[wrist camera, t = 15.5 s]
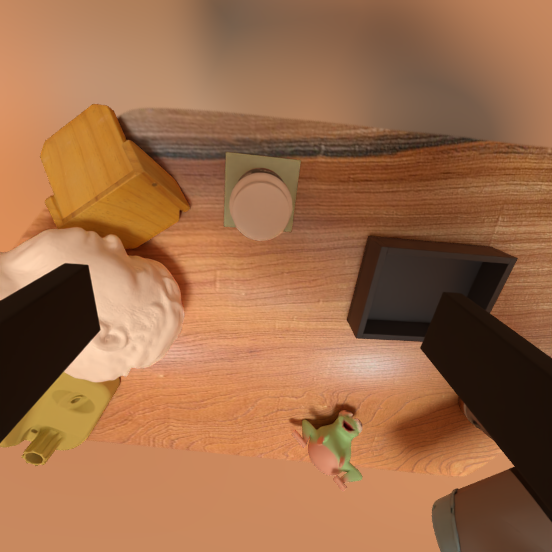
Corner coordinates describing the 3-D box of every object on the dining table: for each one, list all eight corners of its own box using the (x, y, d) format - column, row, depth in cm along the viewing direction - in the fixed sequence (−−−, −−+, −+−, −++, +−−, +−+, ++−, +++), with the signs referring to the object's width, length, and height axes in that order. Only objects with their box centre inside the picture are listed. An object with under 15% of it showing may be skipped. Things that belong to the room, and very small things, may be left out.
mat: (300, 160, 30) (300, 160, 30) (290, 231, 33) (291, 232, 33) (226, 151, 29) (225, 152, 29) (224, 225, 33) (223, 226, 32)
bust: (-80, 318, 24) (20, 180, 25) (116, 350, 38) (173, 261, 39) (-88, 407, 17) (52, 209, 18) (156, 405, 31) (223, 295, 33)
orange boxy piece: (194, 211, 31) (175, 157, 34) (121, 152, 22) (107, 89, 26) (123, 257, 33) (112, 201, 36) (30, 219, 24) (29, 151, 28)
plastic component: (125, 375, 41) (56, 345, 39) (96, 418, 34) (11, 385, 32) (80, 450, 47) (19, 428, 45) (49, 499, 41) (-25, 476, 38)
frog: (294, 426, 42) (328, 385, 47) (285, 443, 49) (315, 405, 54) (362, 496, 37) (392, 441, 42) (341, 504, 44) (368, 455, 49)
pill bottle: (296, 192, 31) (312, 211, 22) (263, 229, 33) (265, 261, 24) (257, 155, 29) (257, 159, 20) (224, 196, 31) (210, 217, 22)
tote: (491, 246, 36) (518, 258, 32) (454, 326, 41) (474, 344, 37) (368, 235, 34) (381, 246, 31) (346, 320, 40) (355, 338, 36)
